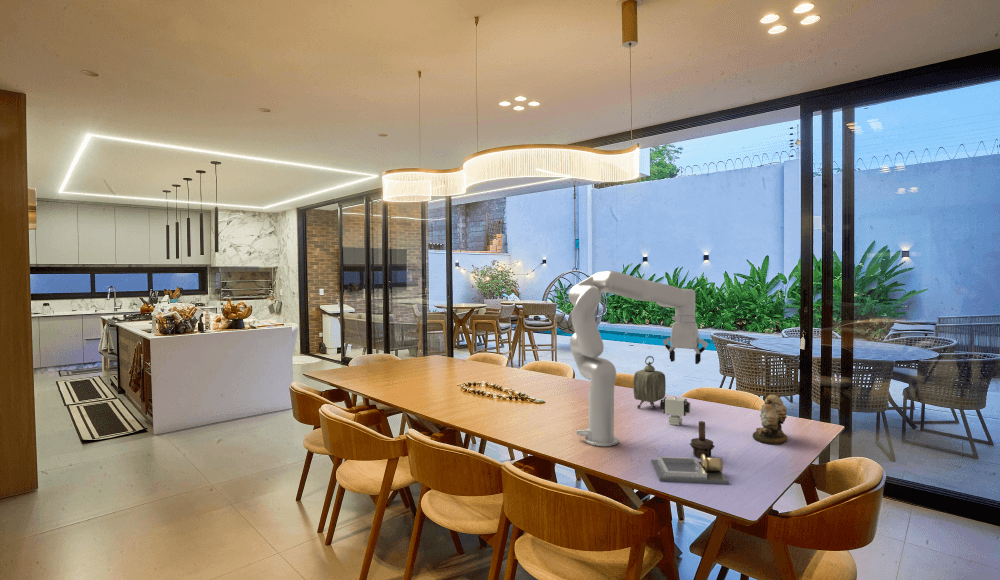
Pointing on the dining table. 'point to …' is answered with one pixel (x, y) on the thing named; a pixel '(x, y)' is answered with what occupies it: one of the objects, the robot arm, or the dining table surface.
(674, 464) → the mounting plate
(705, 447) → the industrial component
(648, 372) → the tabletop clock
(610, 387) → the robot arm
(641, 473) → the dining table surface
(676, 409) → the pneumatic valve
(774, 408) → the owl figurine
